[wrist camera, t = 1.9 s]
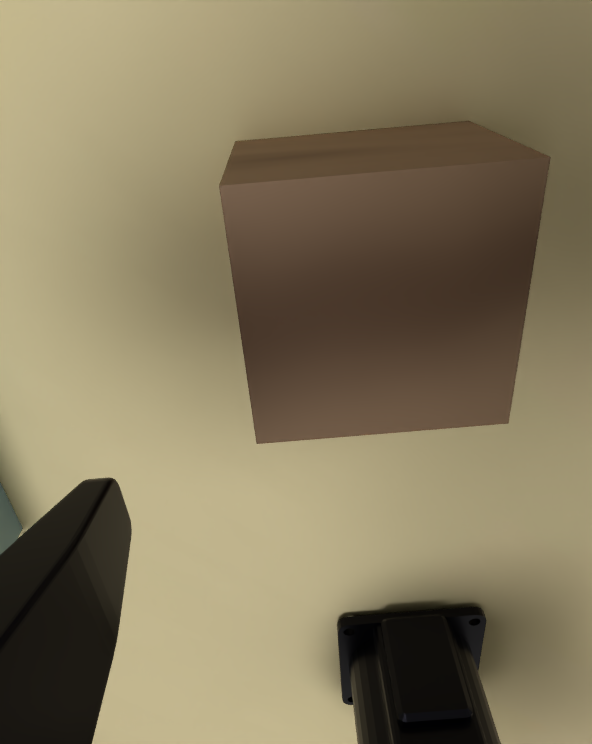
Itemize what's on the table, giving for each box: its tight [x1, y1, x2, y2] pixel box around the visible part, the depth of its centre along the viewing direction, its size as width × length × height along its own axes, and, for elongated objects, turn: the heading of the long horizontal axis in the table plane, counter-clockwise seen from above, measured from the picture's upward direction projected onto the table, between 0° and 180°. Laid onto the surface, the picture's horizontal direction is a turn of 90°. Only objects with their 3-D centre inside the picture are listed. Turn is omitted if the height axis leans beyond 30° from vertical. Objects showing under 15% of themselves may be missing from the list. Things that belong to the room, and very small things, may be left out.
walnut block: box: [219, 121, 550, 444], centre depth 14 cm, size 6×6×5 cm
